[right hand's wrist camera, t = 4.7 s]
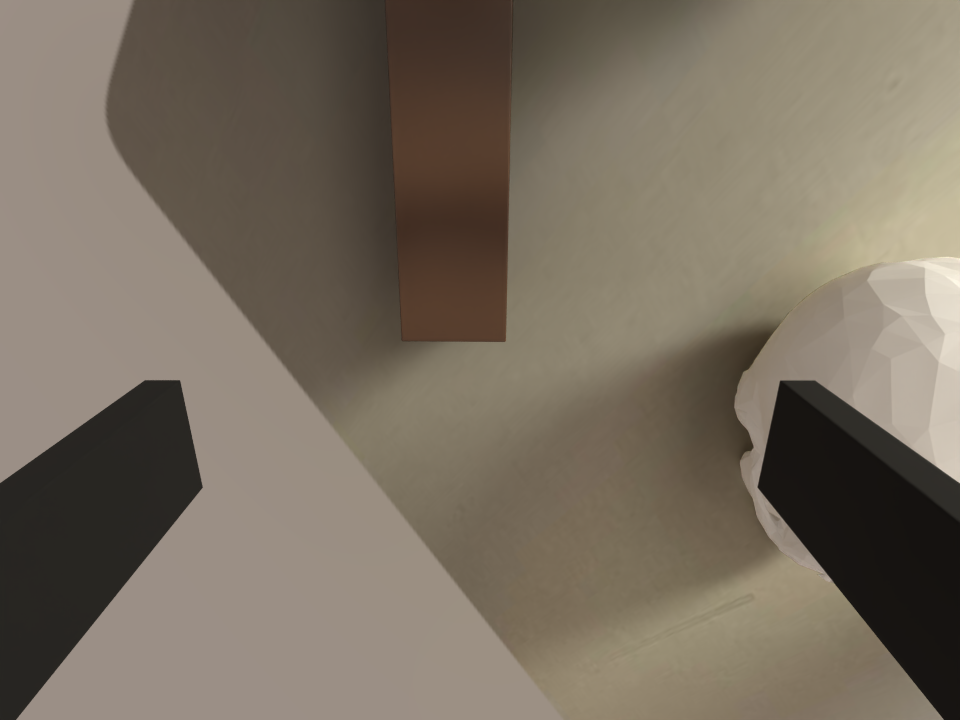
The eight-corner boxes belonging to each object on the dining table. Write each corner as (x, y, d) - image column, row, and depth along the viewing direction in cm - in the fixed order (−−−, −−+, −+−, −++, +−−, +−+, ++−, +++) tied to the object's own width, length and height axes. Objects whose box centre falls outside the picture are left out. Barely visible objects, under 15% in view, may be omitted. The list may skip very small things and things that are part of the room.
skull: (713, 555, 41) (856, 787, 26) (704, 259, 33) (900, 349, 18) (898, 525, 40) (1151, 745, 25) (933, 218, 33) (1324, 277, 18)
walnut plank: (399, -269, 25) (362, -446, 17) (511, -269, 25) (522, -446, 17) (419, 298, 34) (401, 341, 27) (501, 299, 34) (505, 342, 27)
